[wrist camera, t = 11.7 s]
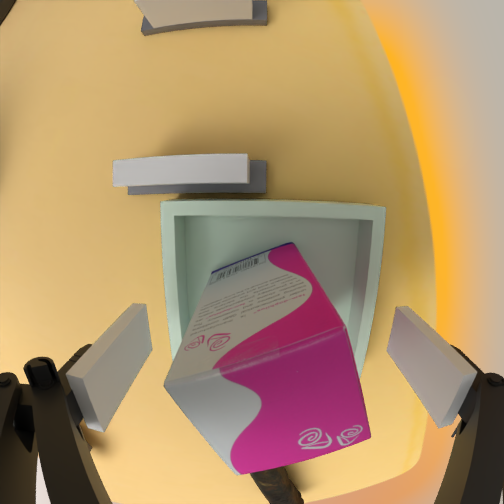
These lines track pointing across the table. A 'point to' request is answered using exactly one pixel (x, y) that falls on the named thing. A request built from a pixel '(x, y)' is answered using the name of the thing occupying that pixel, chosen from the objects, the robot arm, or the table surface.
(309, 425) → the supplement box
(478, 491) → the robot arm
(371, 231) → the parts tray
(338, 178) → the table surface
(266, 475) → the hand tool
